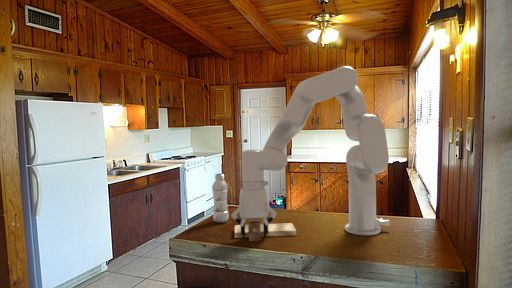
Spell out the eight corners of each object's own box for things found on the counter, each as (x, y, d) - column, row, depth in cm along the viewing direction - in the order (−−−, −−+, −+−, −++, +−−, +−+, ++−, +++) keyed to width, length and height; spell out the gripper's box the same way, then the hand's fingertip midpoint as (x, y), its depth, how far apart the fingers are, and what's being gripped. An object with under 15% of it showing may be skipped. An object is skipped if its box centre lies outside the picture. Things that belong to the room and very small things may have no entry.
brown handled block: (258, 229, 125) (258, 213, 125) (260, 241, 112) (260, 224, 111) (248, 229, 125) (247, 214, 124) (249, 241, 111) (248, 224, 111)
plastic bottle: (232, 221, 137) (231, 173, 136) (220, 225, 132) (218, 175, 131) (222, 218, 141) (220, 172, 140) (209, 222, 136) (208, 174, 135)
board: (292, 227, 126) (292, 223, 126) (296, 235, 117) (296, 230, 117) (235, 229, 125) (234, 225, 125) (234, 237, 116) (234, 232, 116)
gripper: (277, 182, 117) (278, 231, 118) (228, 184, 117) (229, 233, 118) (279, 186, 110) (280, 238, 111) (227, 188, 109) (229, 240, 110)
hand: (254, 235), depth 114 cm, fingers open, 6 cm apart
